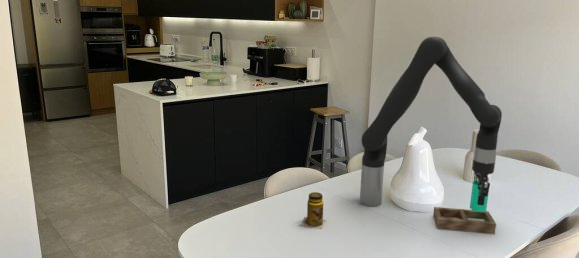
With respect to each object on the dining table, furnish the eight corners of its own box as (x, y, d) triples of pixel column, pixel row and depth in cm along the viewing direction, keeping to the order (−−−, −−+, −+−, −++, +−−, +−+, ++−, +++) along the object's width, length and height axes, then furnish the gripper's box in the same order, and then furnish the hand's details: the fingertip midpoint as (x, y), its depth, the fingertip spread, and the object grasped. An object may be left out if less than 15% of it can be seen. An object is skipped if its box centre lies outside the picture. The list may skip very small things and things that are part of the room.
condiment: (321, 228, 165) (322, 199, 162) (299, 225, 168) (300, 196, 165) (325, 220, 172) (326, 191, 169) (304, 217, 175) (305, 189, 172)
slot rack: (437, 228, 166) (438, 219, 165) (433, 216, 177) (434, 206, 176) (494, 233, 163) (496, 224, 162) (487, 220, 174) (488, 211, 173)
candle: (488, 212, 164) (492, 182, 161) (471, 211, 165) (474, 181, 162) (484, 206, 170) (488, 176, 167) (468, 204, 171) (471, 175, 168)
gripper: (469, 152, 170) (464, 193, 174) (478, 164, 156) (472, 209, 161) (489, 153, 169) (484, 195, 173) (500, 166, 155) (494, 210, 159)
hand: (478, 201), depth 167 cm, fingers closed on candle, 5 cm apart
